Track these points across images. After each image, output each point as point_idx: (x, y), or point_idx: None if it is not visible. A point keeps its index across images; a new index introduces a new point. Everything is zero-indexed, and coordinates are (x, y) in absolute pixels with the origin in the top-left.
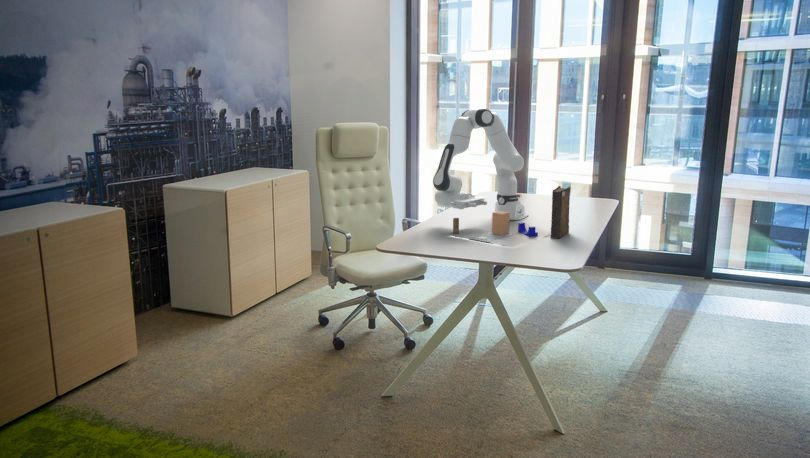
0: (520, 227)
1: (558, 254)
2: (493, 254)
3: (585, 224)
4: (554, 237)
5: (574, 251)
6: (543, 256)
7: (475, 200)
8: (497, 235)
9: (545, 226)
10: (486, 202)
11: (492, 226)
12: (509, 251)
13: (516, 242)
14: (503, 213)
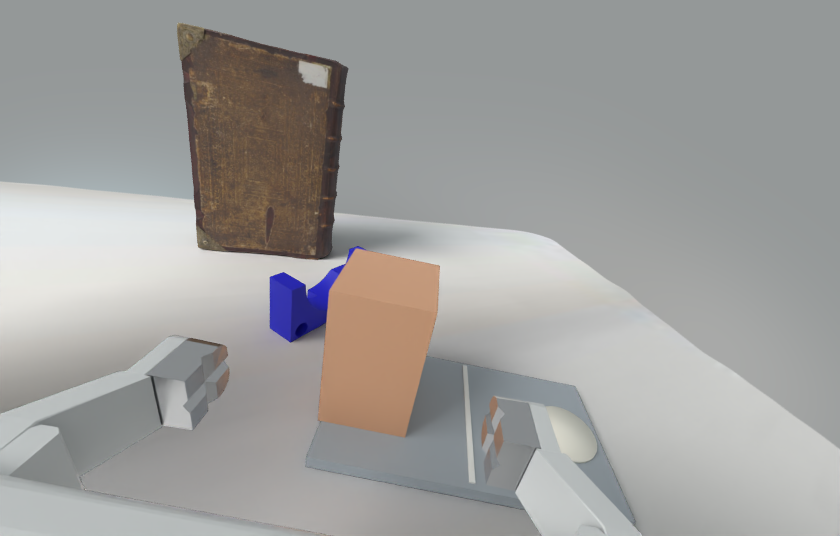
0: (308, 301)
1: (491, 246)
2: (653, 339)
3: (15, 202)
4: (331, 249)
5: (441, 231)
6: (533, 262)
7: (227, 520)
8: (438, 390)
9: (48, 280)
10: (202, 343)
11: (414, 399)
12: (578, 315)
13: (461, 319)
14: (416, 265)
